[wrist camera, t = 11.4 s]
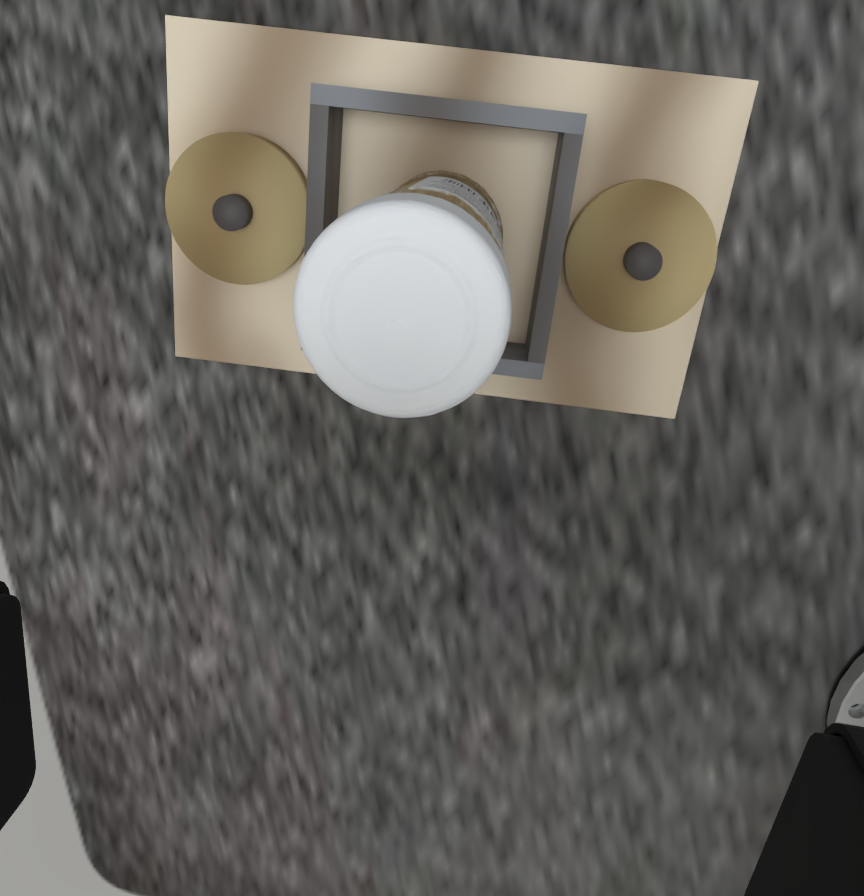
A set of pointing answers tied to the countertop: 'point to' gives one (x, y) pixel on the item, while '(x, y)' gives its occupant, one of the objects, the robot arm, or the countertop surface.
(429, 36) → the countertop surface
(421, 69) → the board
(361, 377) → the sprinkles bottle
